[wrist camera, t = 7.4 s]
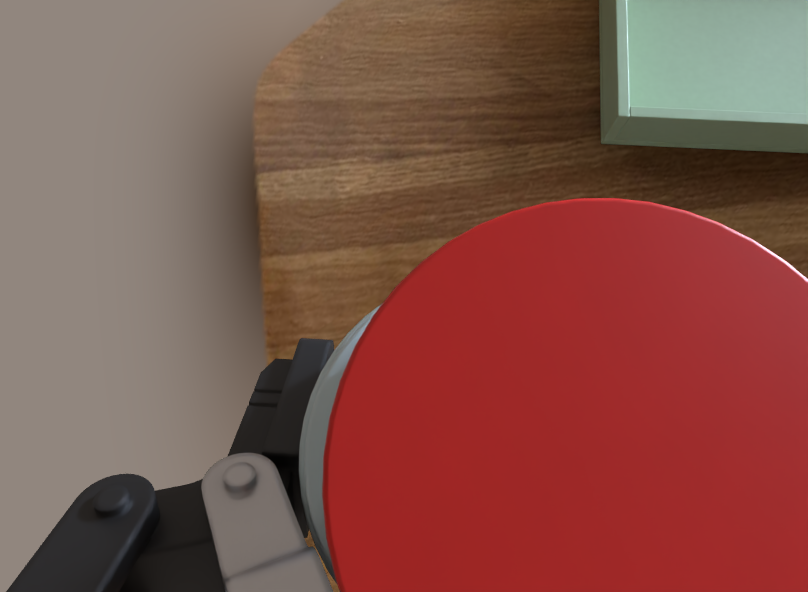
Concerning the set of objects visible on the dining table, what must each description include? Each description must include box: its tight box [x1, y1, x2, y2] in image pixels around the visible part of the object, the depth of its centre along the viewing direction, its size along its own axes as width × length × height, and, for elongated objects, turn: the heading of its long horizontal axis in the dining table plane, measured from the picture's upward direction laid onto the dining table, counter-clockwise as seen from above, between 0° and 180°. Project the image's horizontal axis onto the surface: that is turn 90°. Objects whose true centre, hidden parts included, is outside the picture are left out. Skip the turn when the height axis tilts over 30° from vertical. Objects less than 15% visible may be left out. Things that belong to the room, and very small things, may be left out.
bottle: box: [299, 303, 383, 583], centre depth 14 cm, size 6×6×20 cm
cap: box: [322, 198, 808, 592], centre depth 5 cm, size 4×4×3 cm
